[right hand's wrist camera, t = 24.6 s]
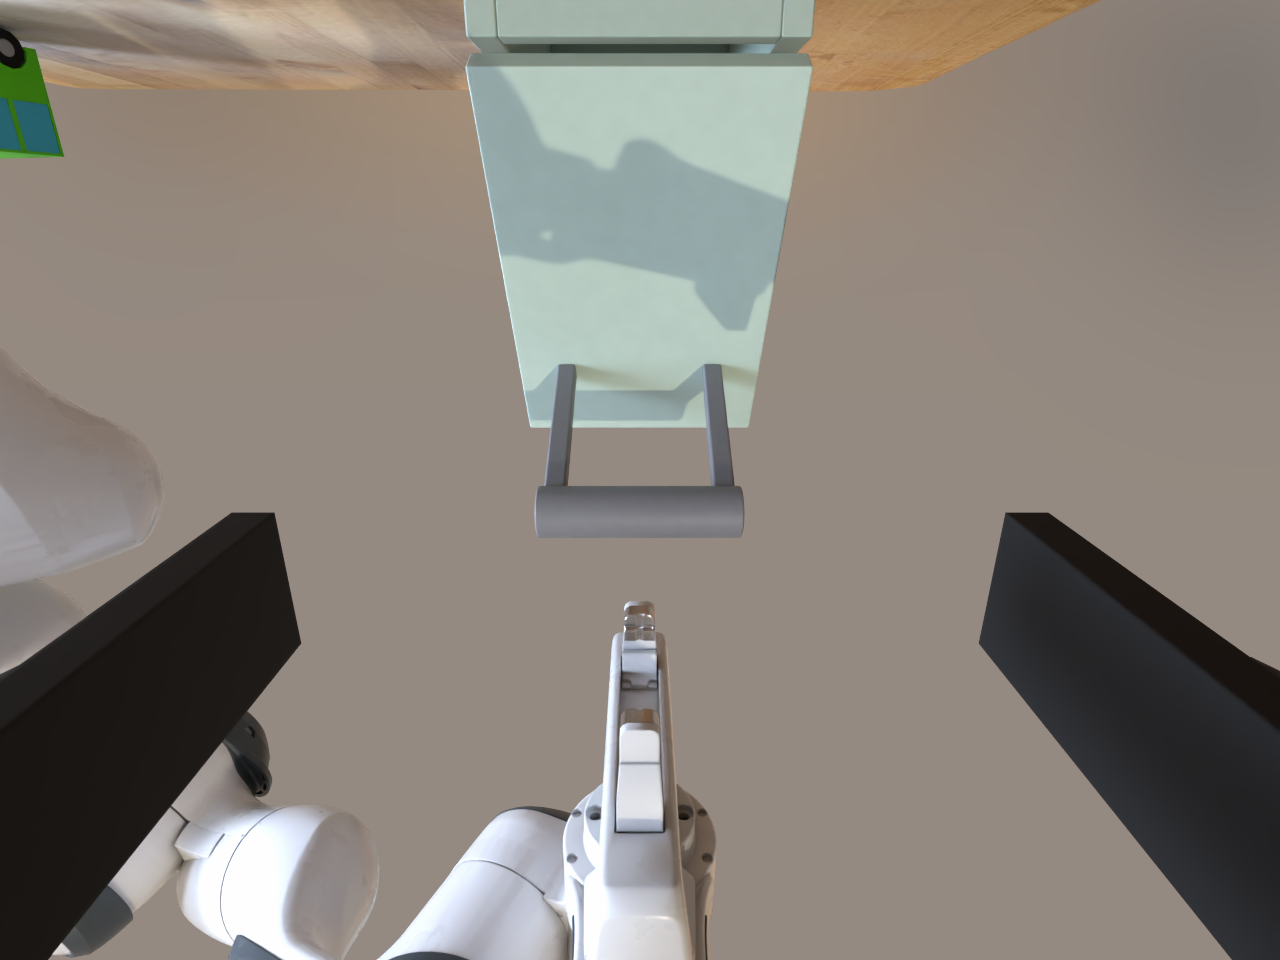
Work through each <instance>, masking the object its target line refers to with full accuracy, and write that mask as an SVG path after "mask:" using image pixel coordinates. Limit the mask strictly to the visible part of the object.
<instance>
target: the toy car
mask: <svg viewBox="0 0 1280 960" xmlns="http://www.w3.org/2000/svg"><path fill="white" fill-rule="evenodd" d="M34 157H64V154H63V151H62V147H61V143H60V140H59V136H58V132H57V128H56V125H55V121H54V117H53V114H52V110H51V106H50V102H49V99H48V95H47V91H46V88H45V84H44V80H43V76H42V73H41V69H40V65H39V61H38V58H37V54H36V50H35V49H30V48H26V47H22V46H21V44H20V42H19V41H18V40H17V39H16V38H15V37H14V36H13V35H12V34H11V33H10V32H8V31H6V30H4V29H2V28H0V158H34Z"/></svg>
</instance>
